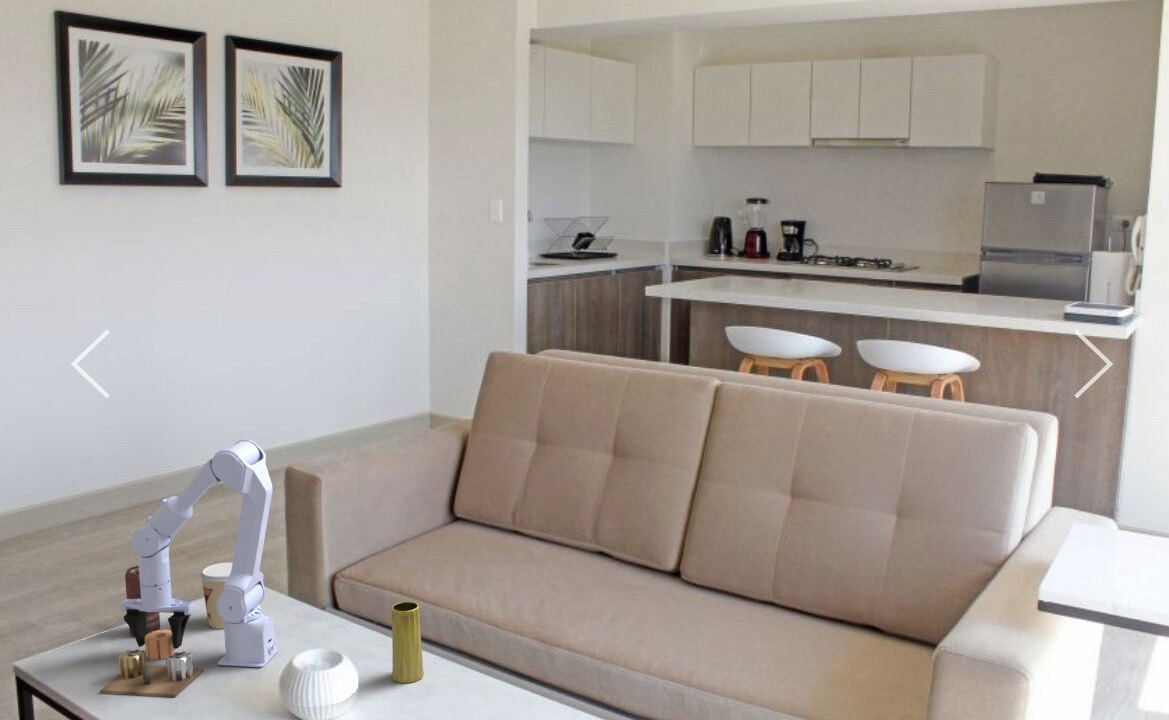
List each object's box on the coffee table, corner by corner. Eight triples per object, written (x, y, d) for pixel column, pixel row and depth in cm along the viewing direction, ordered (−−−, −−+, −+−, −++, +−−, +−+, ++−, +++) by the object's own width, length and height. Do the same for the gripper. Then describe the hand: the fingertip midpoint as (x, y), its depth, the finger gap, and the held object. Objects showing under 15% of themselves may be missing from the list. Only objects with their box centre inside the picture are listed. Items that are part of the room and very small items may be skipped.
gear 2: (197, 671, 210) (195, 650, 209) (185, 682, 205) (184, 660, 204) (175, 670, 210) (173, 649, 209) (162, 680, 206) (161, 659, 205)
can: (140, 640, 226) (135, 576, 223) (124, 632, 229) (119, 569, 227) (166, 630, 230) (162, 568, 228) (150, 623, 234) (145, 561, 232)
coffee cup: (206, 615, 238) (203, 563, 236) (250, 611, 240) (247, 560, 238) (202, 632, 229) (198, 578, 227) (248, 628, 231) (244, 574, 230)
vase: (397, 686, 204) (394, 614, 202) (387, 673, 209) (384, 603, 207) (428, 679, 207) (425, 608, 204) (417, 666, 212) (415, 597, 210)
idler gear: (180, 648, 221) (178, 630, 221) (166, 660, 216) (165, 641, 215) (155, 647, 222) (153, 629, 221) (141, 658, 217) (139, 640, 216)
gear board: (203, 671, 211) (202, 652, 210) (175, 697, 200) (173, 678, 200) (132, 667, 213) (130, 649, 212) (100, 693, 202) (98, 673, 202)
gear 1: (150, 669, 211) (148, 648, 210) (137, 680, 206) (136, 658, 205) (128, 668, 211) (126, 647, 210) (115, 678, 207) (113, 657, 206)
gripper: (199, 576, 219) (203, 639, 222) (132, 573, 221) (137, 635, 224) (181, 589, 213) (186, 653, 215) (113, 585, 214) (118, 650, 217)
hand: (160, 645), depth 219 cm, fingers open, 7 cm apart
